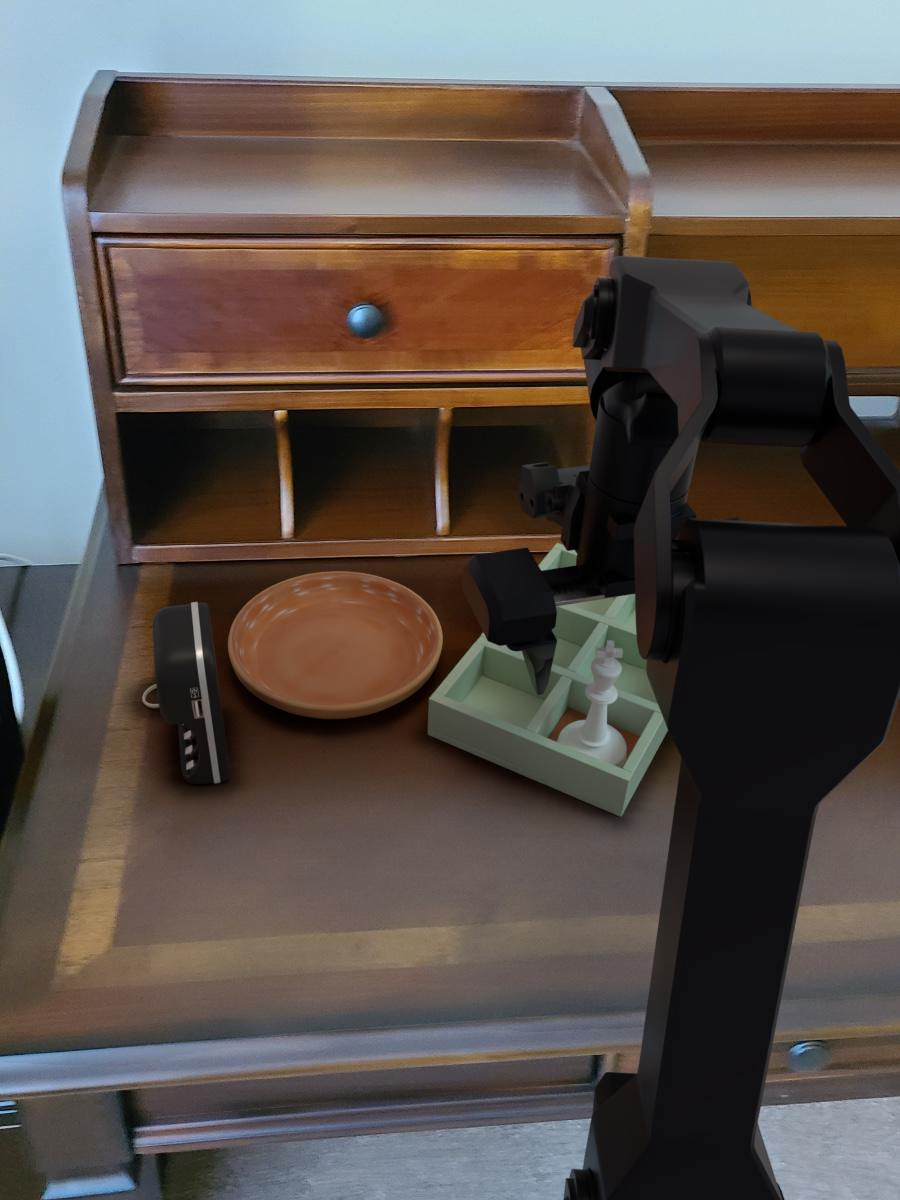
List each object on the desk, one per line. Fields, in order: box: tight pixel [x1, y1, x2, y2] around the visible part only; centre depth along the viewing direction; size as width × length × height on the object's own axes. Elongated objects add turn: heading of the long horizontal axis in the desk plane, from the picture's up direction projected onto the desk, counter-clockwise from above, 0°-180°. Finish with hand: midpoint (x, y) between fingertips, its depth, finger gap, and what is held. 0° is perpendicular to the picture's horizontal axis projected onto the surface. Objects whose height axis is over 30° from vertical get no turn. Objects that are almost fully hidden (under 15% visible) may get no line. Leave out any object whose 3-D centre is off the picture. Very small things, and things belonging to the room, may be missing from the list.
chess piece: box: [557, 640, 627, 768], centre depth 71 cm, size 5×5×10 cm
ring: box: [141, 683, 160, 709], centre depth 78 cm, size 3×1×3 cm
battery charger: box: [152, 601, 231, 785], centre depth 70 cm, size 7×4×11 cm, turn 14°
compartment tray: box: [427, 542, 669, 818], centre depth 80 cm, size 22×15×4 cm
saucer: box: [227, 570, 444, 720], centre depth 81 cm, size 16×16×3 cm
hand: (602, 678), depth 70 cm, fingers open, 9 cm apart
